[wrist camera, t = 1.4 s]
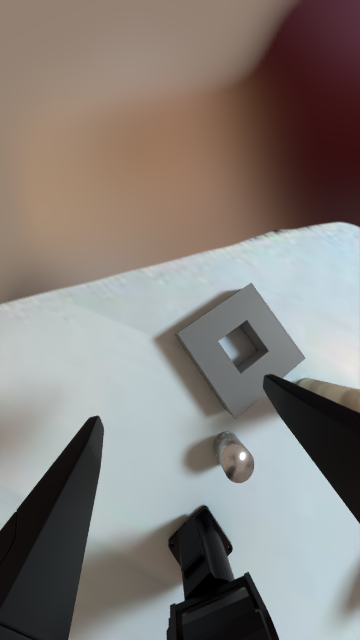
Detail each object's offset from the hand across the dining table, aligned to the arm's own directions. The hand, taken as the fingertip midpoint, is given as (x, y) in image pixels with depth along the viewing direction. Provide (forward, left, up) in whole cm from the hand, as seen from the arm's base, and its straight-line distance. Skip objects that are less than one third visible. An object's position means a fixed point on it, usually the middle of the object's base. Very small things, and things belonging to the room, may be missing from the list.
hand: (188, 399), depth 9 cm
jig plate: (-4, -10, -17) cm, 20 cm away
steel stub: (-15, 0, -17) cm, 23 cm away
